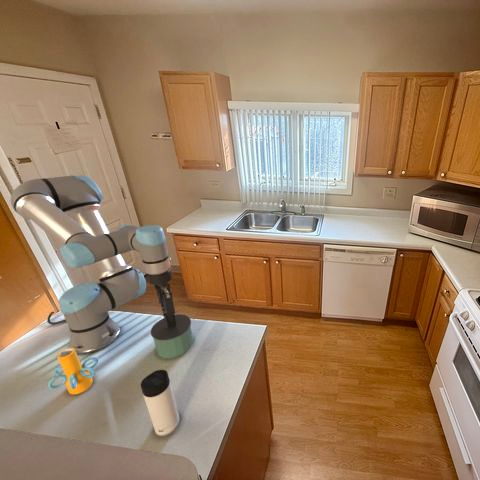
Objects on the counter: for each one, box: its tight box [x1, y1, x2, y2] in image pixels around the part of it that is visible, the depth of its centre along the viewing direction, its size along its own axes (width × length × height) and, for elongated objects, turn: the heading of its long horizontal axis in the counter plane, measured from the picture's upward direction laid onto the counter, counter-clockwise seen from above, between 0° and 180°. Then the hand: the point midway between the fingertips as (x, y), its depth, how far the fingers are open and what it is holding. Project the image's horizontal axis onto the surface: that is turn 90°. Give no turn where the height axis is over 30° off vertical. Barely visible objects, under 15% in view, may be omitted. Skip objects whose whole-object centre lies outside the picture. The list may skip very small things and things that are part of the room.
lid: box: [150, 309, 192, 340], centre depth 95 cm, size 13×13×9 cm
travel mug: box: [140, 369, 181, 437], centre depth 70 cm, size 6×7×20 cm
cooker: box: [152, 325, 194, 359], centre depth 99 cm, size 12×12×10 cm
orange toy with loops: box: [47, 347, 99, 395], centre depth 80 cm, size 12×10×15 cm
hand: (170, 323), depth 96 cm, fingers closed on lid, 3 cm apart
